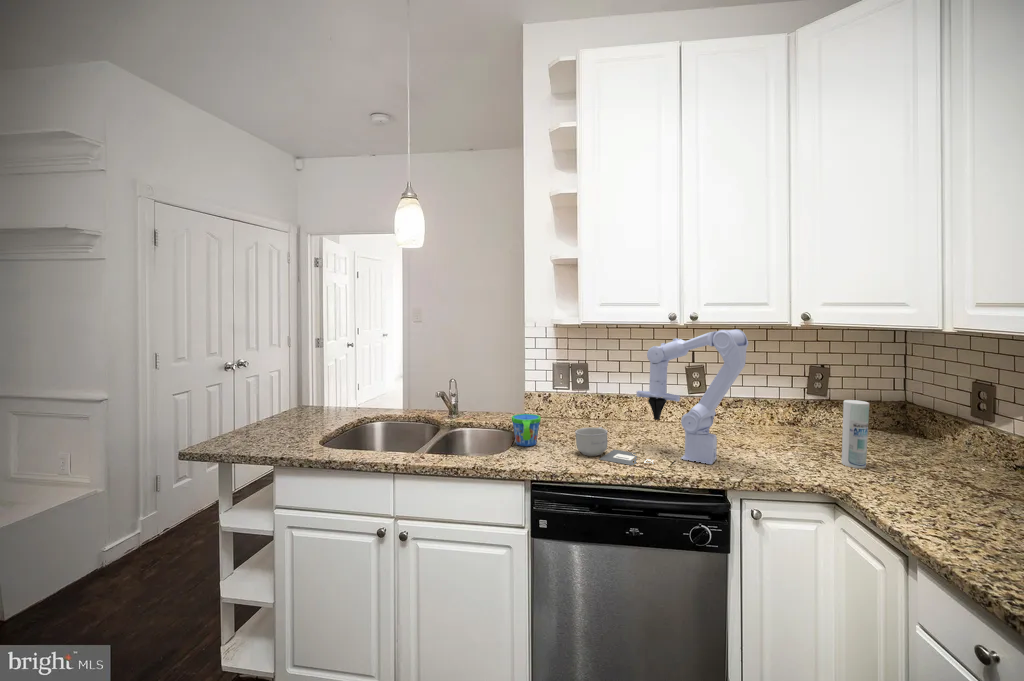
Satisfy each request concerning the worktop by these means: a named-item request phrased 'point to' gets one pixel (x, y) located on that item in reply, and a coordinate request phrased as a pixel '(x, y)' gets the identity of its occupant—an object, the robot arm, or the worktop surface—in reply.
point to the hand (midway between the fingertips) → (656, 419)
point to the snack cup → (526, 429)
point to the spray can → (855, 433)
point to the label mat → (622, 457)
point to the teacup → (591, 441)
